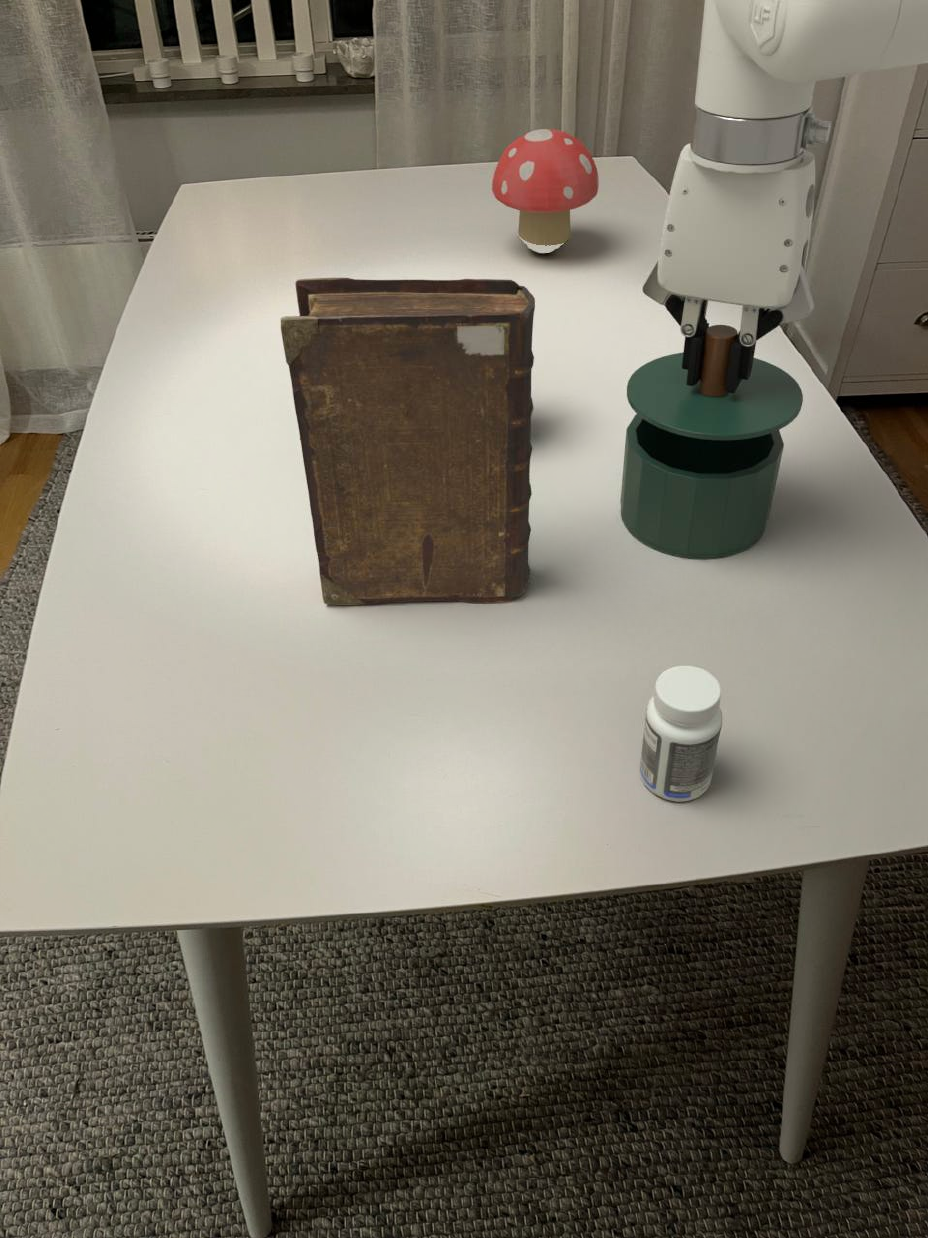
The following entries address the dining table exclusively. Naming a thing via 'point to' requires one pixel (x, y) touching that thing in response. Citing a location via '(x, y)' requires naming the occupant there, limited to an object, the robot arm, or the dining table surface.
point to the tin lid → (714, 394)
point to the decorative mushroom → (545, 183)
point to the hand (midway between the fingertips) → (715, 379)
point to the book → (415, 435)
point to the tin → (697, 490)
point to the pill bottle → (681, 733)
